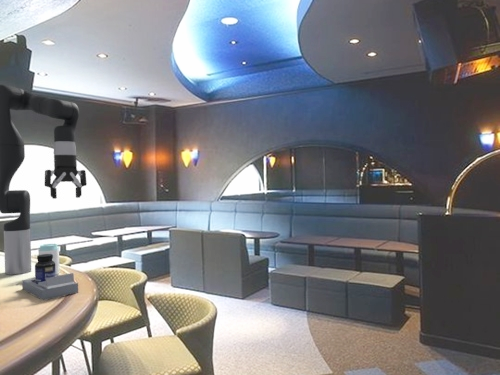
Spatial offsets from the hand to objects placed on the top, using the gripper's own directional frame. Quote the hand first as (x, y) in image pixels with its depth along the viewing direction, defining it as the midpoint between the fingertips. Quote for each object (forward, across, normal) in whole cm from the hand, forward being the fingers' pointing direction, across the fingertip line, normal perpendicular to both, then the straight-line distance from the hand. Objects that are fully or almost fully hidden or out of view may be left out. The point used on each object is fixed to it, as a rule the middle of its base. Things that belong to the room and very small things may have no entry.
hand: (66, 198), depth 146 cm
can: (+30, -3, +11) cm, 32 cm away
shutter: (+27, -11, -18) cm, 35 cm away
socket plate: (+30, -11, -13) cm, 35 cm away
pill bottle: (+30, -11, -9) cm, 33 cm away
